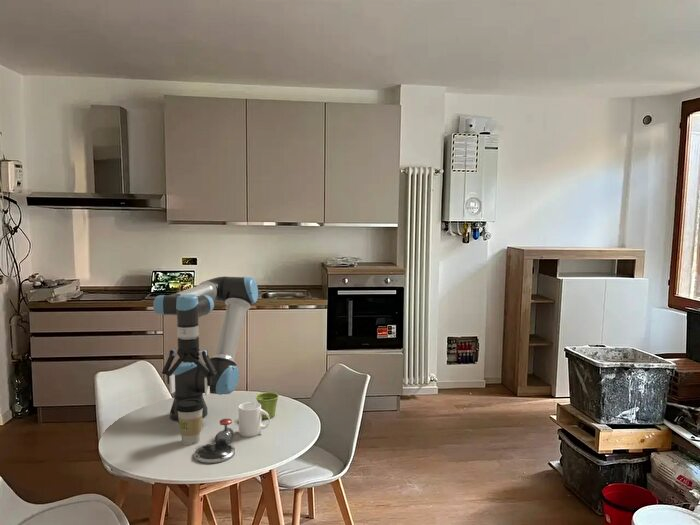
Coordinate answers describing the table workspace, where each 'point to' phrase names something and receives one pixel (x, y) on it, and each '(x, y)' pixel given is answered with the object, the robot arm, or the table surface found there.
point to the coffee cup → (190, 420)
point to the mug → (251, 419)
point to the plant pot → (268, 403)
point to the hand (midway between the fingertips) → (189, 393)
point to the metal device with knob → (217, 447)
